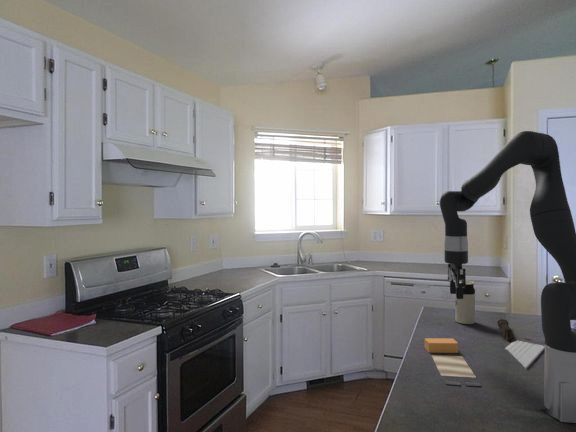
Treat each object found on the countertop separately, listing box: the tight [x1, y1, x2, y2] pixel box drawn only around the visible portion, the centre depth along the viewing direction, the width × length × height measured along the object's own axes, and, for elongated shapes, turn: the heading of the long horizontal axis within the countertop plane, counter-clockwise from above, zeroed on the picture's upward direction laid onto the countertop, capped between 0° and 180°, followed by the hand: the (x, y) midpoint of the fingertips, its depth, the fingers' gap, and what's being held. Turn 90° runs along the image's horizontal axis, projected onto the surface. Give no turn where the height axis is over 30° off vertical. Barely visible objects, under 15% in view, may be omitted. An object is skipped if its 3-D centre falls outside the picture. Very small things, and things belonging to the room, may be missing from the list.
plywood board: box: [431, 354, 477, 379], centre depth 132 cm, size 17×10×2 cm, turn 170°
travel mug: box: [454, 280, 476, 325], centre depth 184 cm, size 8×8×18 cm
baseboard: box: [504, 337, 545, 370], centre depth 144 cm, size 31×3×12 cm
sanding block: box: [424, 337, 459, 354], centre depth 146 cm, size 5×10×5 cm, turn 87°
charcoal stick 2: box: [464, 381, 482, 388], centre depth 118 cm, size 2×4×2 cm
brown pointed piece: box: [497, 319, 512, 342], centre depth 167 cm, size 19×4×5 cm, turn 156°
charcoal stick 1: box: [444, 380, 462, 387], centre depth 119 cm, size 2×4×2 cm
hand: (456, 296), depth 143 cm, fingers open, 8 cm apart
